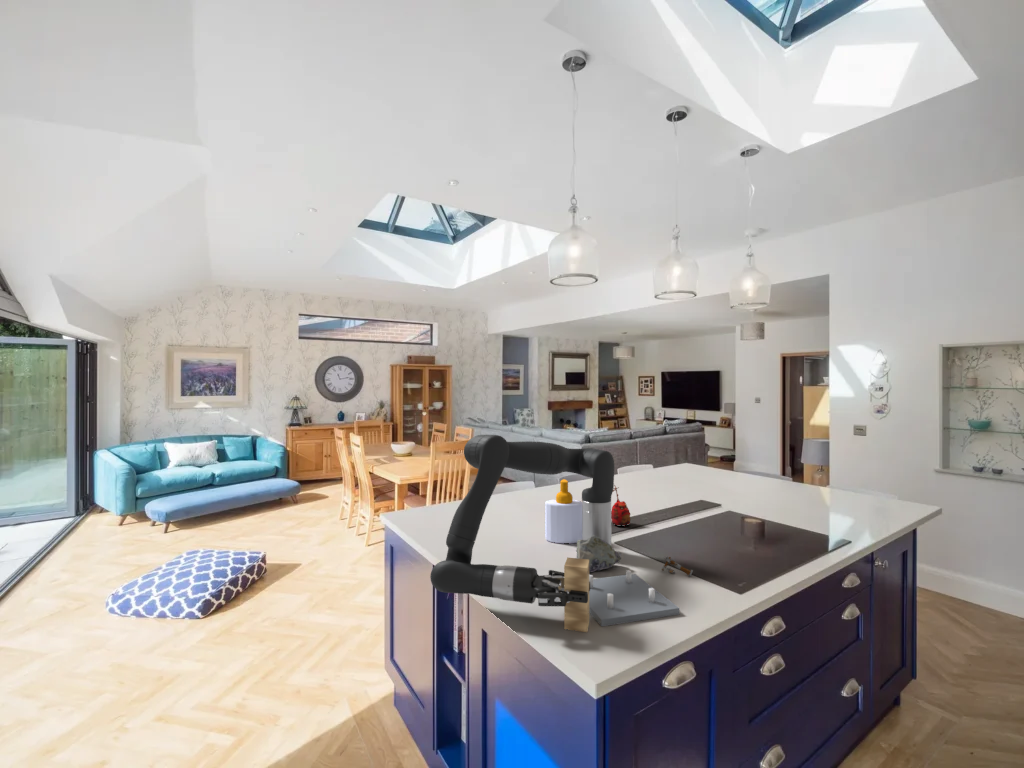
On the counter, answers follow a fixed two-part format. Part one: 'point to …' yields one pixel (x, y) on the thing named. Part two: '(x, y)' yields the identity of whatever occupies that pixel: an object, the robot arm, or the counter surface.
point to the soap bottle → (563, 517)
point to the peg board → (626, 600)
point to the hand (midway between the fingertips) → (588, 591)
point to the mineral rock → (597, 553)
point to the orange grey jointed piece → (668, 559)
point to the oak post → (578, 581)
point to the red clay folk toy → (620, 512)
